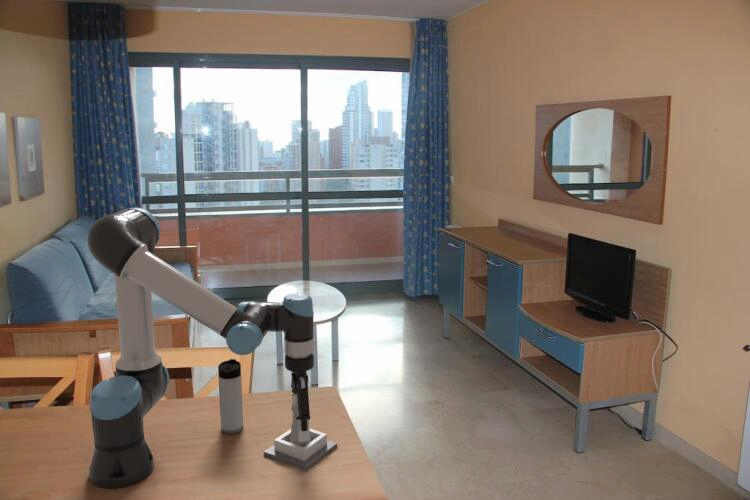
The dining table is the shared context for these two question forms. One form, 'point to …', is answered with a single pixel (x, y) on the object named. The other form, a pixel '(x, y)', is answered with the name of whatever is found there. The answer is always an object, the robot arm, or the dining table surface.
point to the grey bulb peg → (296, 428)
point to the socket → (301, 450)
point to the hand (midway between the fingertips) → (300, 427)
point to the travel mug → (230, 396)
